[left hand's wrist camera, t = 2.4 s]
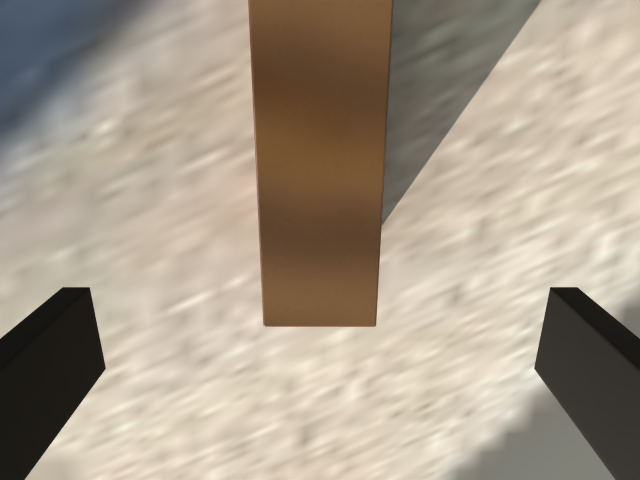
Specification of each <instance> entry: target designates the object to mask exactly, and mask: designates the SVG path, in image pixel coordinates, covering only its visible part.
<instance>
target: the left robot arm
mask: <svg viewBox="0 0 640 480" xmlns="http://www.w3.org/2000/svg"><path fill="white" fill-rule="evenodd" d="M105 369H106V368H105V362H104V357H103V352H102V347H101V342H100V337H99V332H98V327H97V322H96V317H95V312H94V307H93V302H92V297H91V292H90V287H63V288H61V289H60V290H59V291H58V292H57V293H55V294H54V295H53V296H52V297H51V298H49V299H48V300H47V301H46V302H44V303H43V304H42V305H41V306H40V307H38V308H37V309H36V310H35V311H34V312H32V313H31V314H30V315H29V316H27V317H26V318H25V319H24V320H23V321H21V322H20V323H19V324H18V325H17V326H15V327H14V328H13V329H12V330H10V331H9V332H8V333H7V334H6V335H4V336H3V337H2V338H1V339H0V480H25V478H26V477H27V476H28V474H29V473H30V471H31V470H32V469H33V467H34V466H35V465H36V463H37V462H38V461H39V459H40V458H41V456H42V455H43V454H44V452H45V451H46V450H47V448H48V447H49V445H50V444H51V443H52V441H53V440H54V439H55V437H56V436H57V435H58V433H59V432H60V430H61V429H62V428H63V426H64V425H65V424H66V422H67V421H68V419H69V418H70V417H71V415H72V414H73V413H74V411H75V410H76V409H77V407H78V406H79V404H80V403H81V402H82V400H83V399H84V398H85V396H86V395H87V393H88V392H89V391H90V389H91V388H92V387H93V385H94V384H95V383H96V381H97V380H98V378H99V377H100V376H101V374H102V373H103V372H104V370H105ZM534 369H535V370H536V372H537V373H538V374H539V376H540V377H541V378H542V380H543V381H544V383H545V384H546V385H547V387H548V388H549V389H550V391H551V392H552V393H553V395H554V396H555V398H556V399H557V400H558V402H559V403H560V404H561V406H562V407H563V409H564V410H565V411H566V413H567V414H568V415H569V417H570V418H571V419H572V421H573V422H574V424H575V425H576V426H577V428H578V429H579V430H580V432H581V433H582V435H583V436H584V437H585V439H586V440H587V441H588V443H589V444H590V445H591V447H592V448H593V450H594V451H595V452H596V454H597V455H598V456H599V458H600V459H601V460H602V462H603V463H604V465H605V466H606V467H607V469H608V470H609V471H610V473H611V474H612V476H613V477H614V478H615V480H640V339H639V338H638V337H637V336H635V335H634V334H633V333H632V332H631V331H630V330H628V329H627V328H626V327H625V326H623V325H622V324H621V323H620V322H619V321H617V320H616V319H615V318H614V317H613V316H611V315H610V314H609V313H608V312H606V311H605V310H604V309H603V308H602V307H600V306H599V305H598V304H597V303H596V302H594V301H593V300H592V299H591V298H589V297H588V296H587V295H586V294H585V293H583V292H582V291H581V290H580V289H579V288H577V287H550V292H549V297H548V302H547V307H546V312H545V317H544V322H543V327H542V332H541V337H540V342H539V347H538V352H537V357H536V362H535V368H534Z"/></svg>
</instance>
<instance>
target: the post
mask: <svg viewBox="0 0 640 480" xmlns="http://www.w3.org/2000/svg"><path fill="white" fill-rule="evenodd" d="M393 2H394V0H248V5H249V26H250V48H251V69H252V91H253V112H254V134H255V155H256V177H257V198H258V220H259V241H260V263H261V284H262V306H263V325H264V326H265V327H375V326H376V317H377V299H378V280H379V261H380V243H381V224H382V206H383V187H384V169H385V150H386V132H387V113H388V95H389V76H390V58H391V39H392V20H393Z"/></svg>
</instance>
